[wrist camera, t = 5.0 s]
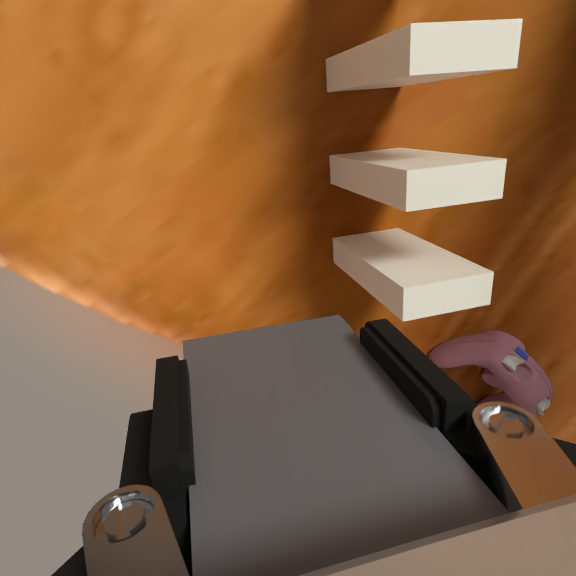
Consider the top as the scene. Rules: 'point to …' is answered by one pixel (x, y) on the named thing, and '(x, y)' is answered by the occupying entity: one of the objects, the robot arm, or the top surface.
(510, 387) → the video game controller
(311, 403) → the domino
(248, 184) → the top surface
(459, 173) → the domino
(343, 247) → the domino
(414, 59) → the domino
